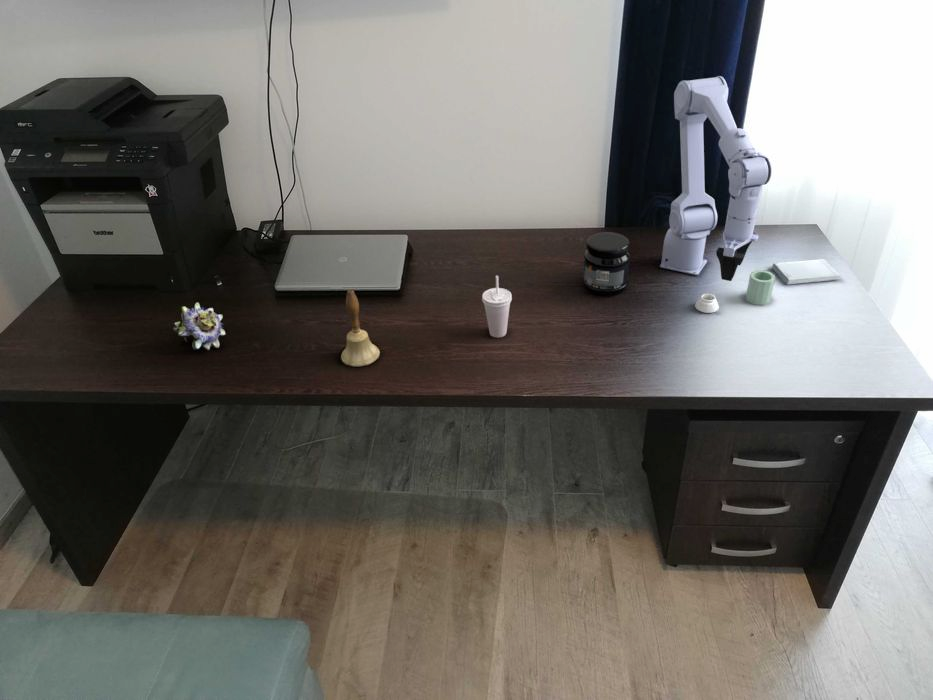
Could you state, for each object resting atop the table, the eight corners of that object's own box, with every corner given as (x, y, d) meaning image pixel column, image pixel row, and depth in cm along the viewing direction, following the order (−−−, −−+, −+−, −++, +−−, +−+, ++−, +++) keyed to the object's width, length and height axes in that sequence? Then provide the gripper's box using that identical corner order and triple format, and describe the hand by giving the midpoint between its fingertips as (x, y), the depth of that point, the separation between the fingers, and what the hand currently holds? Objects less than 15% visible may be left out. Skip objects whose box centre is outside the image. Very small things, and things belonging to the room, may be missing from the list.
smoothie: (516, 327, 159) (515, 271, 151) (507, 343, 154) (506, 287, 146) (488, 323, 161) (486, 268, 153) (479, 338, 156) (476, 283, 148)
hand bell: (344, 344, 157) (332, 281, 148) (382, 343, 157) (372, 280, 147) (338, 367, 150) (325, 303, 141) (377, 366, 150) (366, 301, 141)
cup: (743, 301, 163) (747, 278, 159) (749, 290, 166) (753, 268, 163) (766, 307, 160) (772, 284, 157) (772, 296, 164) (777, 273, 160)
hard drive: (788, 279, 166) (840, 274, 167) (773, 262, 173) (823, 257, 173) (787, 285, 167) (838, 280, 168) (771, 268, 174) (821, 263, 174)
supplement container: (614, 271, 177) (617, 227, 170) (635, 291, 168) (640, 246, 162) (575, 280, 174) (577, 235, 167) (595, 301, 166) (597, 255, 159)
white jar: (693, 312, 160) (717, 315, 159) (695, 301, 158) (719, 304, 157) (696, 301, 164) (719, 304, 162) (697, 290, 162) (721, 292, 161)
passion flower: (222, 366, 162) (204, 349, 151) (176, 356, 163) (155, 339, 151) (237, 320, 166) (221, 301, 154) (191, 311, 166) (172, 291, 155)
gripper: (753, 232, 142) (741, 291, 150) (769, 204, 152) (758, 260, 160) (717, 225, 145) (707, 283, 153) (735, 198, 155) (725, 254, 163)
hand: (731, 271), depth 157 cm, fingers open, 7 cm apart
